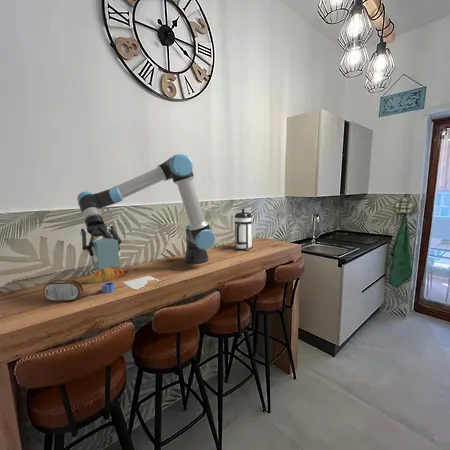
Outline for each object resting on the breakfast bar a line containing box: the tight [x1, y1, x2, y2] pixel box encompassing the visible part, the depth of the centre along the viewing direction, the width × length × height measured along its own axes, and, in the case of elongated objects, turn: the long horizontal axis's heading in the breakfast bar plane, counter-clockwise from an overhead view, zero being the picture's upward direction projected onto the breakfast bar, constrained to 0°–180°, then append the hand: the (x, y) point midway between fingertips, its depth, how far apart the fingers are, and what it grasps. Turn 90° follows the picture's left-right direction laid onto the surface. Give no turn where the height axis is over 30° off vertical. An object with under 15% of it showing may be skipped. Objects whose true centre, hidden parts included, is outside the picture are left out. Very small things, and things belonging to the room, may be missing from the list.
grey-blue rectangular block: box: [91, 238, 121, 270], centre depth 114 cm, size 9×9×11 cm
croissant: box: [82, 267, 129, 284], centre depth 132 cm, size 21×10×8 cm, turn 126°
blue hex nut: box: [101, 281, 116, 294], centre depth 116 cm, size 5×5×4 cm
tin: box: [42, 279, 84, 301], centre depth 108 cm, size 15×3×8 cm, turn 92°
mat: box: [122, 275, 159, 290], centre depth 127 cm, size 14×14×1 cm
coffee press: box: [233, 208, 253, 252], centre depth 191 cm, size 17×16×30 cm
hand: (108, 259), depth 112 cm, fingers closed on grey-blue rectangular block, 9 cm apart
